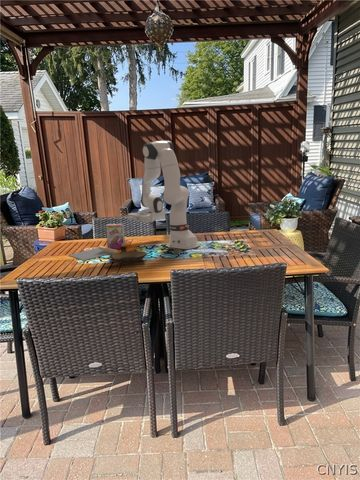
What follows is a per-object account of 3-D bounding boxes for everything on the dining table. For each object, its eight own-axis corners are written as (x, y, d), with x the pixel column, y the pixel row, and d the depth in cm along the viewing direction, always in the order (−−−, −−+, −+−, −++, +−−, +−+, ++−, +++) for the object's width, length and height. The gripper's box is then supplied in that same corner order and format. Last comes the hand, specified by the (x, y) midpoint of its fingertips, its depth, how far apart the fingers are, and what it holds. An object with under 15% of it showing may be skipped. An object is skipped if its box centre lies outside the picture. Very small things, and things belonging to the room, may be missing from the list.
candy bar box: (107, 249, 245) (105, 225, 241) (109, 247, 250) (107, 224, 246) (123, 249, 244) (121, 224, 240) (125, 247, 248) (123, 223, 245)
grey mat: (117, 252, 235) (117, 250, 235) (83, 260, 220) (83, 258, 219) (101, 247, 250) (101, 245, 250) (68, 255, 234) (68, 253, 234)
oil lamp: (103, 269, 200) (102, 256, 199) (116, 255, 230) (114, 243, 228) (143, 268, 199) (142, 254, 197) (151, 253, 228) (150, 241, 226)
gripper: (136, 210, 267) (120, 212, 258) (154, 213, 252) (138, 215, 243) (137, 218, 269) (121, 221, 259) (154, 222, 254) (138, 225, 245)
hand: (129, 218), depth 251 cm, fingers closed
